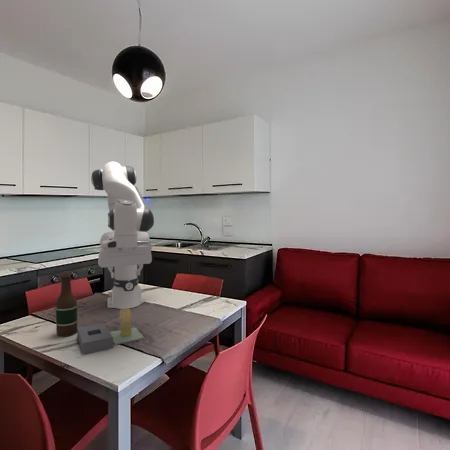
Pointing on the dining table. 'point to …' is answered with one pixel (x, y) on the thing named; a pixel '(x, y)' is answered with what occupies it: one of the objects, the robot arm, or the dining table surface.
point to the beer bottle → (66, 309)
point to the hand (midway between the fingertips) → (125, 276)
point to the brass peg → (125, 322)
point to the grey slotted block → (94, 338)
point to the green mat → (119, 339)
